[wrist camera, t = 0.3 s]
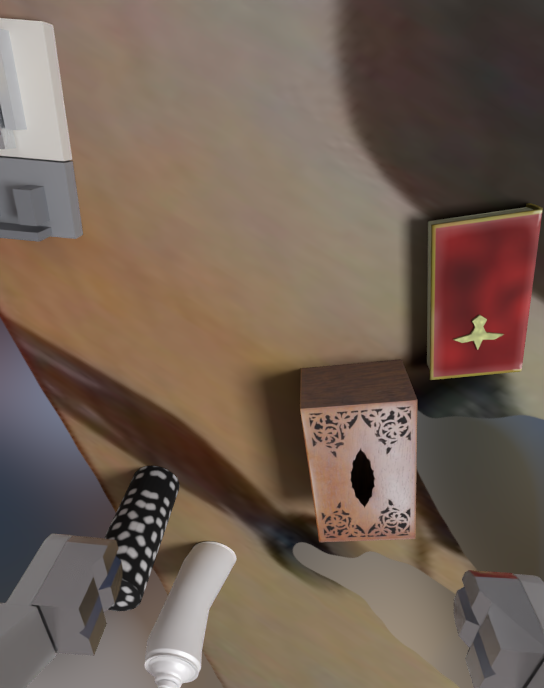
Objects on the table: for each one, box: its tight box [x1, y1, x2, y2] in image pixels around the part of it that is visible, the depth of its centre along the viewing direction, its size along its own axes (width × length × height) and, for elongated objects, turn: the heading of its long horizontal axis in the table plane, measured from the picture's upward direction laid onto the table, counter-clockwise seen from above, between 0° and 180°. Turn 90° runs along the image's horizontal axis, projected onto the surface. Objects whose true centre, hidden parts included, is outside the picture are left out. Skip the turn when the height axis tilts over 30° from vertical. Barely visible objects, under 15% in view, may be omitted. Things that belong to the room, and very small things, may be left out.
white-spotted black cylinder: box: [104, 466, 179, 611], centre depth 67 cm, size 8×8×20 cm
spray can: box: [145, 541, 236, 688], centre depth 74 cm, size 12×11×25 cm
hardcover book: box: [427, 203, 542, 380], centre depth 54 cm, size 12×21×4 cm, turn 9°
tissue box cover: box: [300, 360, 417, 542], centre depth 63 cm, size 26×14×10 cm, turn 9°
